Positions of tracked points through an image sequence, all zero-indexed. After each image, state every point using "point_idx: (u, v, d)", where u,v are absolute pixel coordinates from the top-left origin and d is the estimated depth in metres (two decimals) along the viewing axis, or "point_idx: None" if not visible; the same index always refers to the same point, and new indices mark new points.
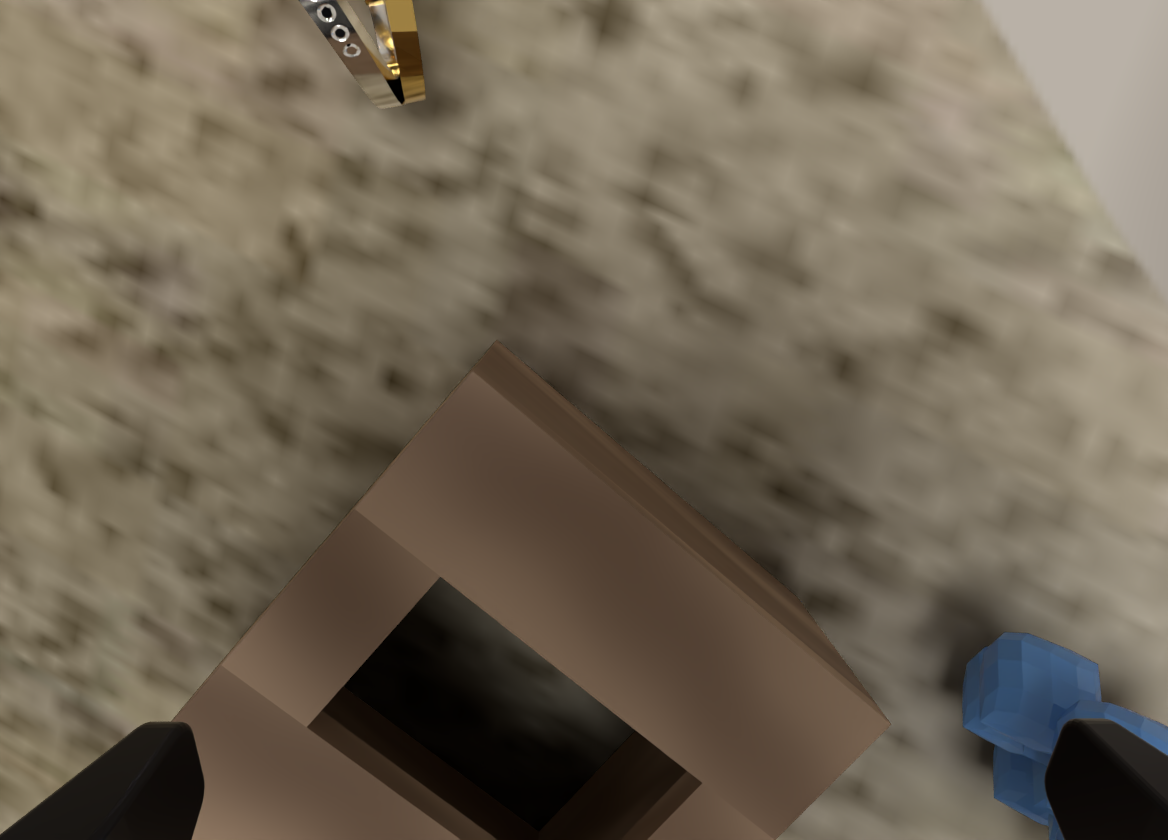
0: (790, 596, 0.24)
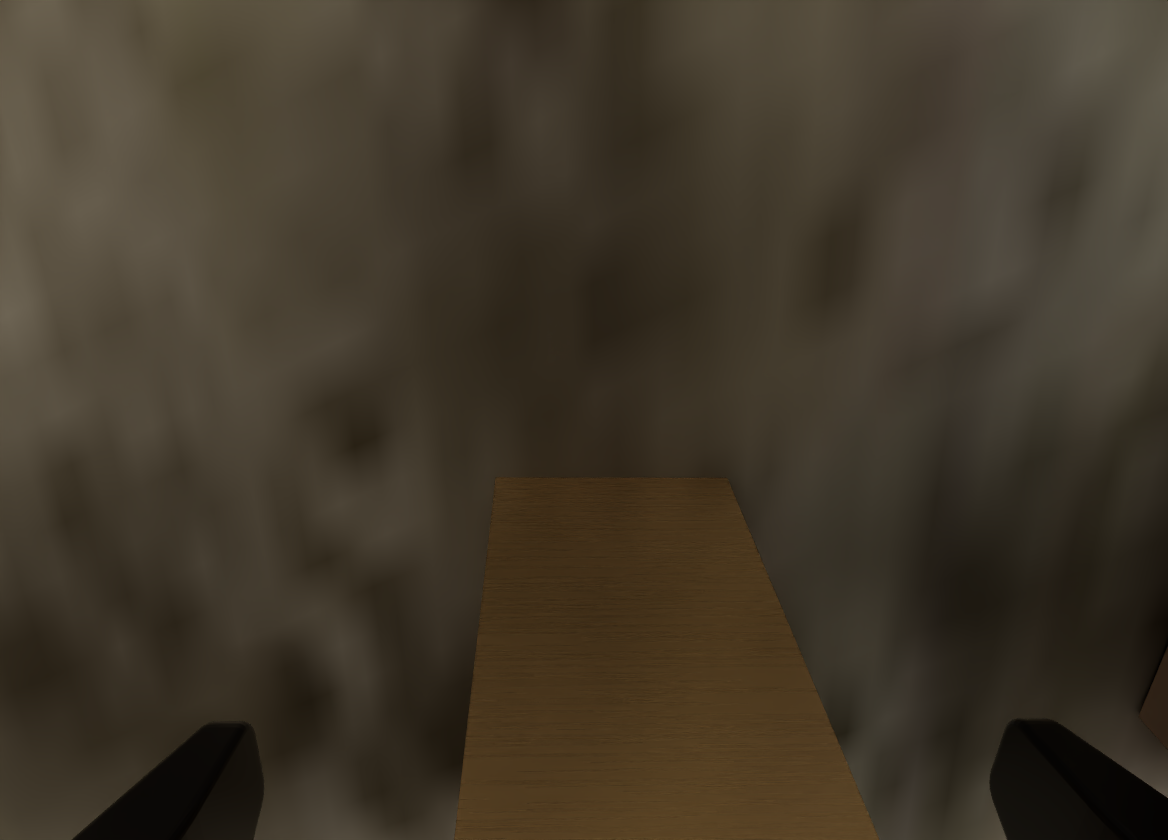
0: None
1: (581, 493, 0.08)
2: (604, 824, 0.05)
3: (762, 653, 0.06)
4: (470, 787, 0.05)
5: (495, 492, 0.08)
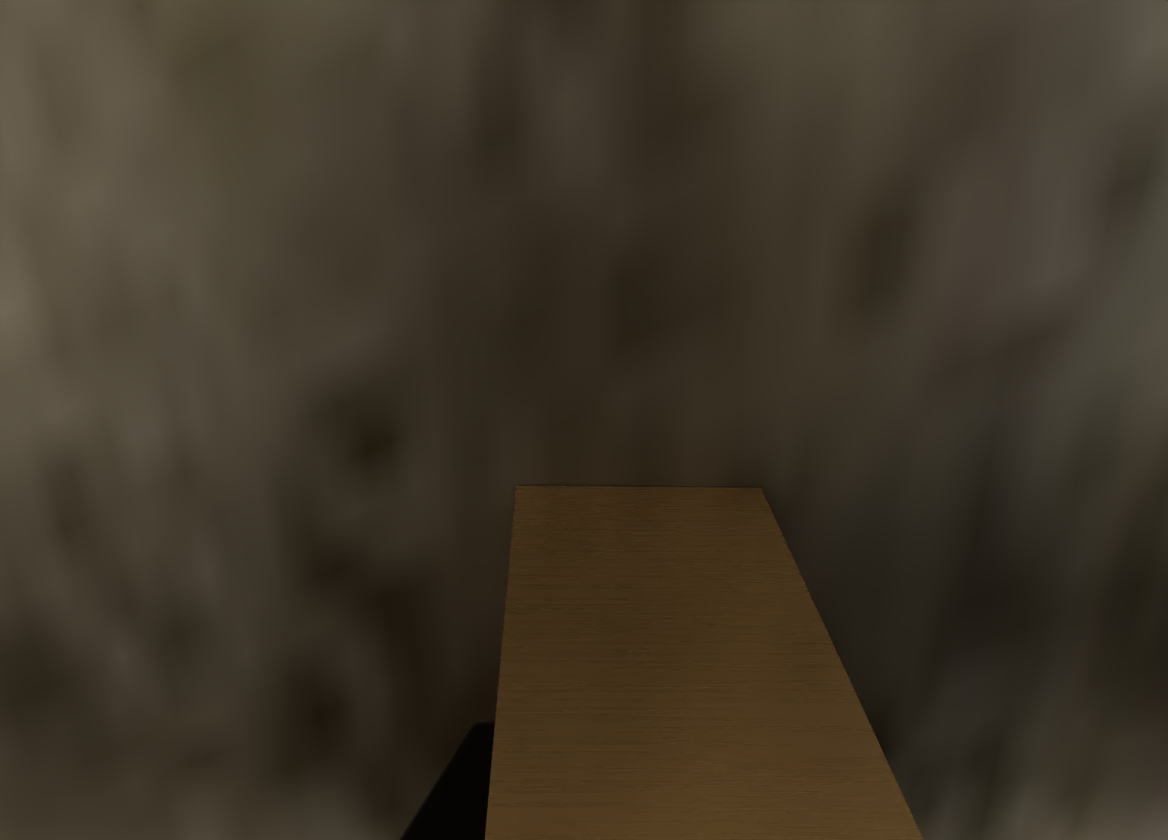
0: None
1: (607, 505, 0.08)
2: None
3: (810, 686, 0.06)
4: None
5: (515, 503, 0.08)
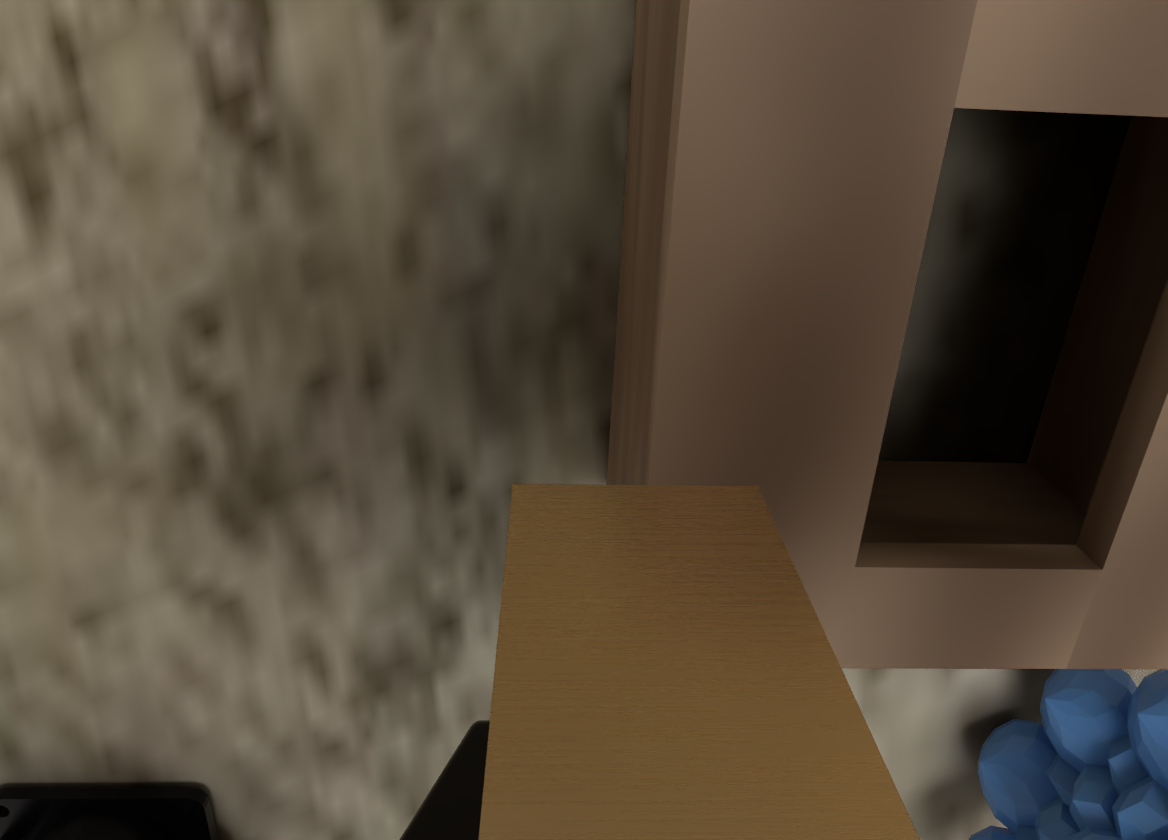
0: None
1: (604, 503, 0.08)
2: None
3: (806, 685, 0.06)
4: (489, 839, 0.05)
5: (512, 501, 0.08)
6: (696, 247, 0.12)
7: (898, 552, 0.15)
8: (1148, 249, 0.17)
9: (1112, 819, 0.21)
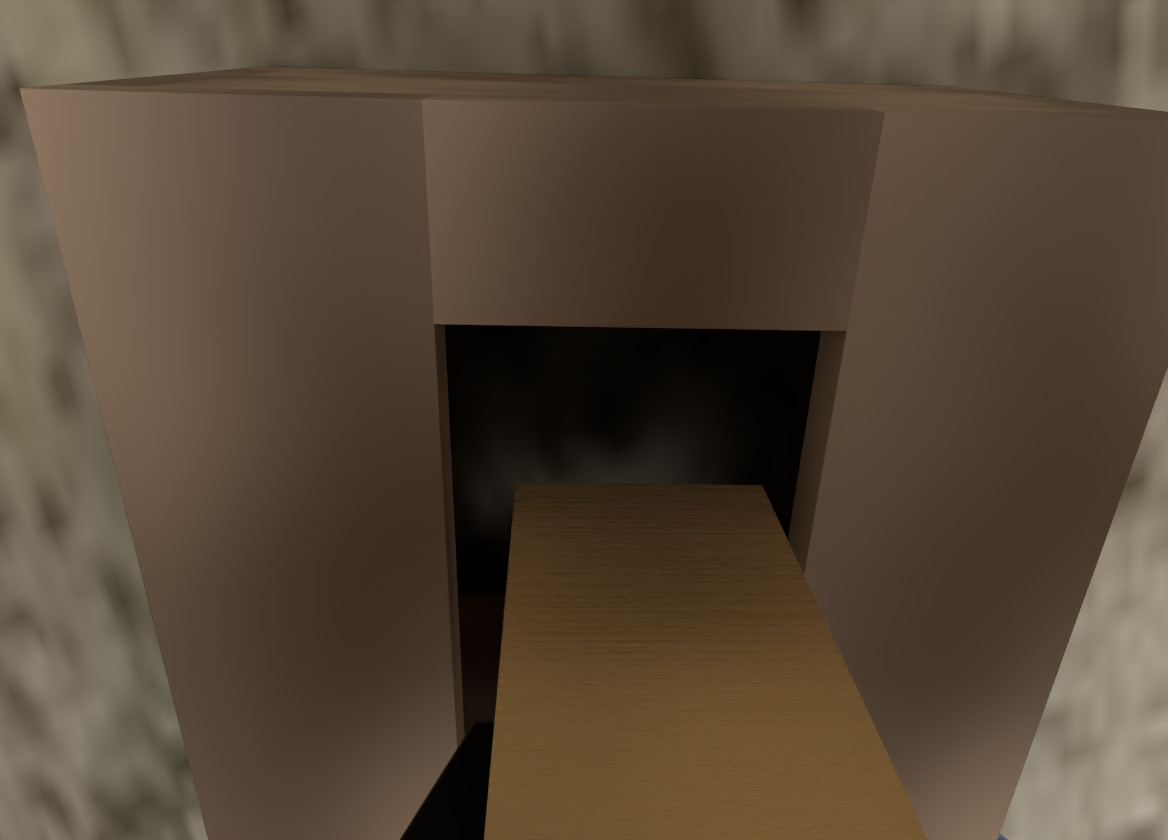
0: None
1: (607, 502, 0.08)
2: None
3: (813, 684, 0.06)
4: None
5: (515, 500, 0.08)
6: (154, 484, 0.09)
7: None
8: None
9: None
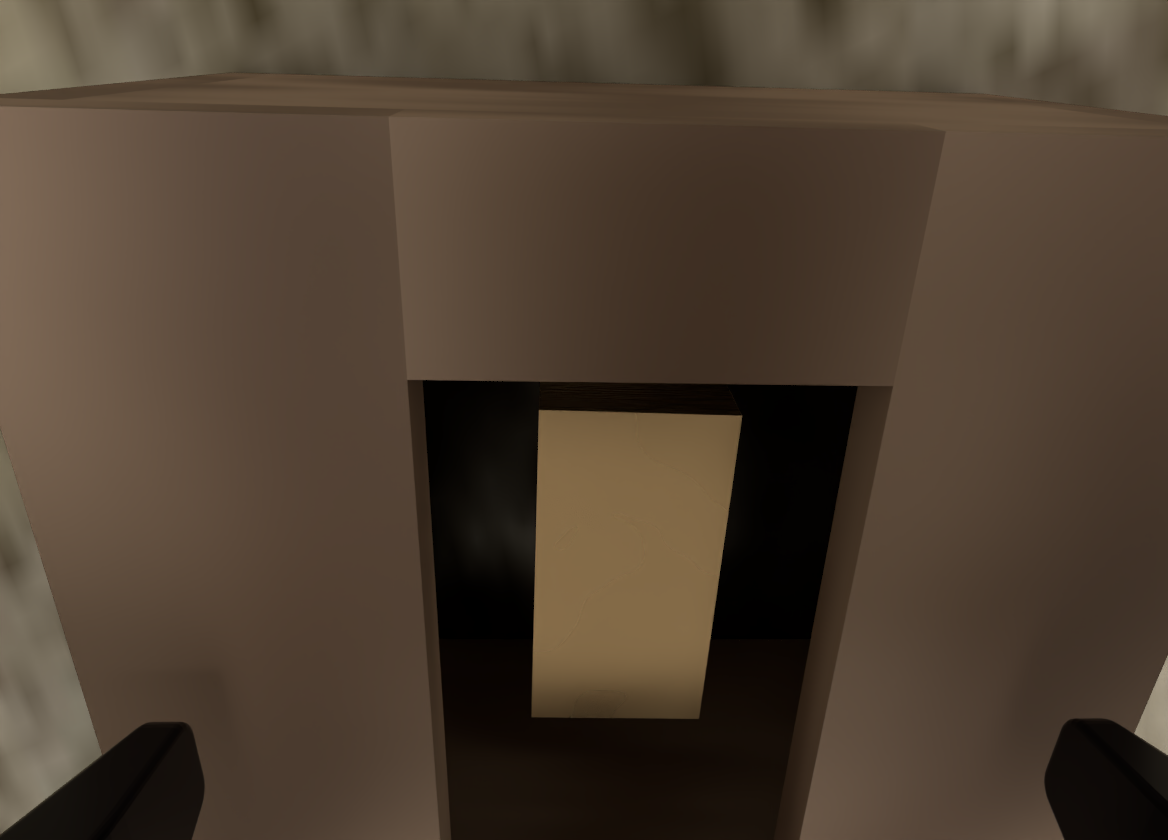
0: None
1: None
2: (607, 389, 0.10)
3: None
4: None
5: None
6: (83, 561, 0.08)
7: None
8: None
9: None
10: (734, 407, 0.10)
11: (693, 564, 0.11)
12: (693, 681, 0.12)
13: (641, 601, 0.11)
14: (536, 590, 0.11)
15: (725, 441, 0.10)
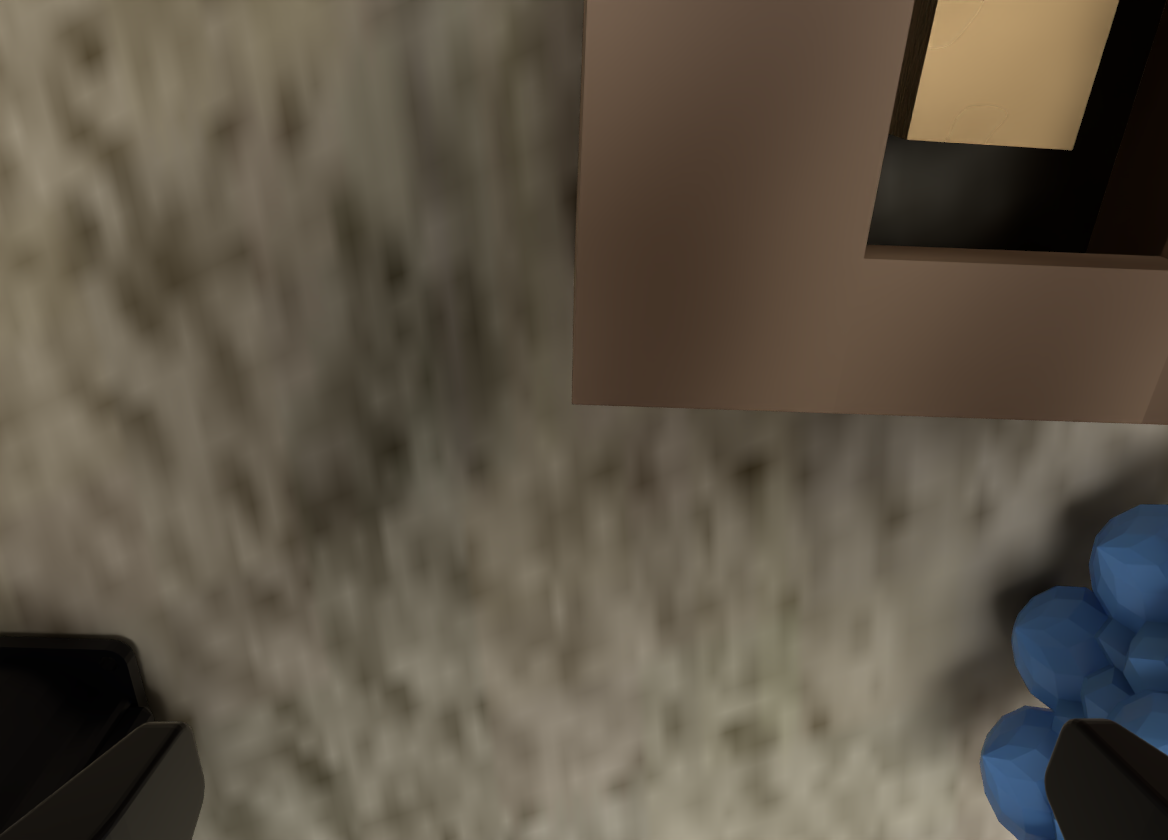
0: None
1: None
2: None
3: None
4: None
5: None
6: None
7: (922, 251, 0.11)
8: None
9: None
10: None
11: None
12: (1078, 97, 0.12)
13: None
14: None
15: None
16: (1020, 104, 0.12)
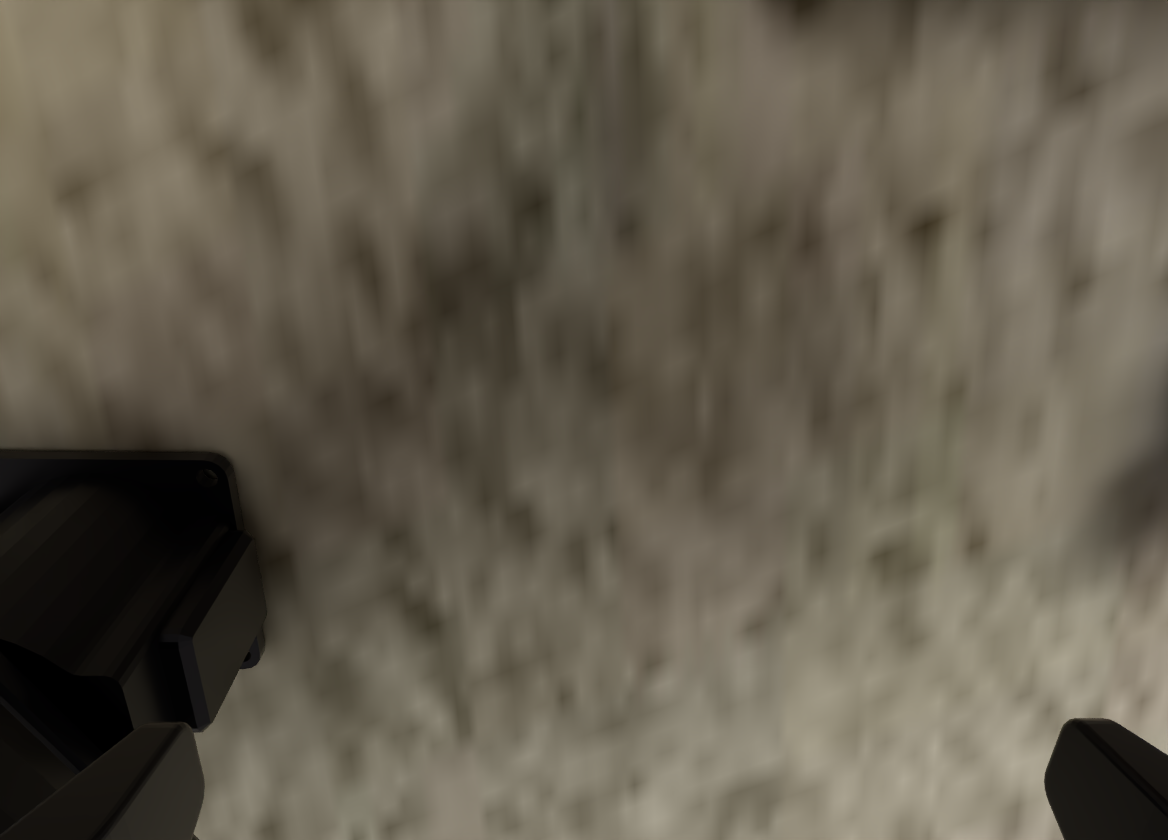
0: None
1: None
2: None
3: None
4: None
5: None
6: None
7: None
8: None
9: None
10: None
11: None
12: None
13: None
14: None
15: None
16: None
